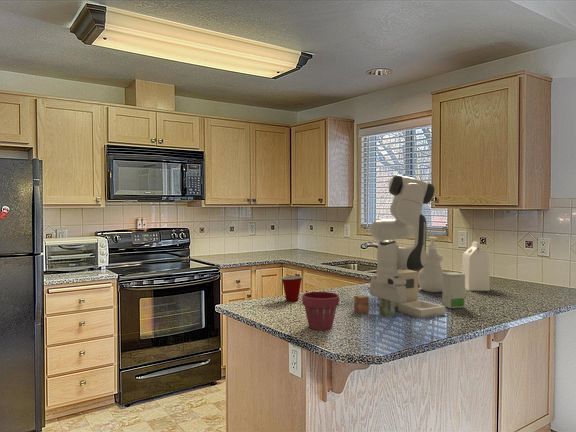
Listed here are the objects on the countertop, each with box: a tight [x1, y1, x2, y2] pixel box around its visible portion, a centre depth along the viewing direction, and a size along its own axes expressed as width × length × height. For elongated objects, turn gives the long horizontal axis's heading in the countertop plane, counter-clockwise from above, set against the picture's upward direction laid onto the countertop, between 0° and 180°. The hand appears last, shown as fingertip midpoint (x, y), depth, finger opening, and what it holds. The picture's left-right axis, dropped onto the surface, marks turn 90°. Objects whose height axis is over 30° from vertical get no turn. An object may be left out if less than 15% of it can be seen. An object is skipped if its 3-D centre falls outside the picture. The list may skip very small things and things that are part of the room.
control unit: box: [376, 270, 419, 311], centre depth 215 cm, size 10×18×16 cm, turn 118°
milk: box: [461, 241, 491, 292], centre depth 258 cm, size 12×12×26 cm
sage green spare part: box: [378, 299, 395, 318], centre depth 199 cm, size 4×4×7 cm
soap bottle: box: [418, 236, 445, 293], centre depth 250 cm, size 17×12×29 cm
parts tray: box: [397, 299, 446, 319], centre depth 203 cm, size 14×14×4 cm
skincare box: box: [441, 271, 466, 309], centre depth 215 cm, size 8×7×16 cm
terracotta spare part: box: [353, 294, 370, 315], centre depth 205 cm, size 4×4×7 cm
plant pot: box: [301, 291, 340, 331], centre depth 180 cm, size 14×14×13 cm
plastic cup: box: [280, 275, 303, 303], centre depth 228 cm, size 11×11×12 cm
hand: (386, 309), depth 199 cm, fingers closed on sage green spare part, 4 cm apart
